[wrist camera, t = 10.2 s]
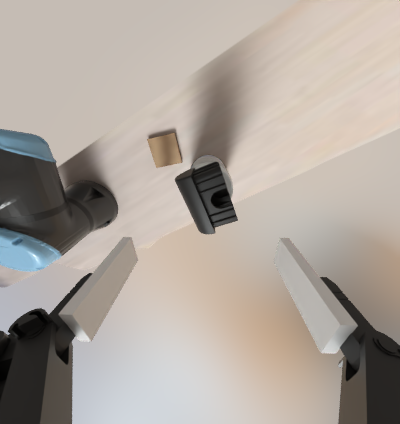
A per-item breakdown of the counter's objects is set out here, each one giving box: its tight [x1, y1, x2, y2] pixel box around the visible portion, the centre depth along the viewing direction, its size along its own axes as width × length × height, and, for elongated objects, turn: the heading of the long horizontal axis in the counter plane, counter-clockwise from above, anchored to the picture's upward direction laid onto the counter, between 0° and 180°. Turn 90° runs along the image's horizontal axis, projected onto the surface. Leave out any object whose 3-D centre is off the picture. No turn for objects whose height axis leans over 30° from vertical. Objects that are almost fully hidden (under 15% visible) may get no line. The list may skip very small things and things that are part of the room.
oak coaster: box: [147, 133, 182, 168], centre depth 38 cm, size 7×7×1 cm
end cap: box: [175, 162, 238, 234], centre depth 25 cm, size 10×7×7 cm
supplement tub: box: [191, 155, 233, 198], centre depth 34 cm, size 10×10×15 cm
